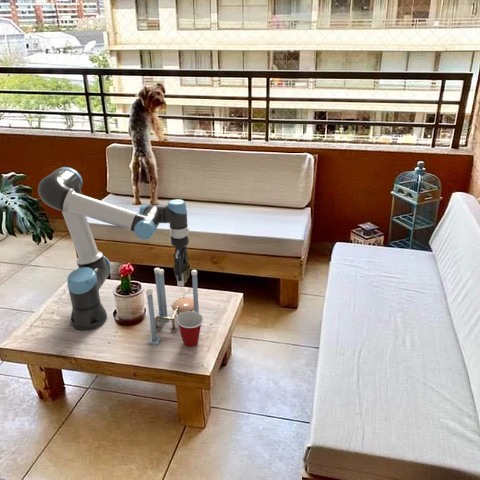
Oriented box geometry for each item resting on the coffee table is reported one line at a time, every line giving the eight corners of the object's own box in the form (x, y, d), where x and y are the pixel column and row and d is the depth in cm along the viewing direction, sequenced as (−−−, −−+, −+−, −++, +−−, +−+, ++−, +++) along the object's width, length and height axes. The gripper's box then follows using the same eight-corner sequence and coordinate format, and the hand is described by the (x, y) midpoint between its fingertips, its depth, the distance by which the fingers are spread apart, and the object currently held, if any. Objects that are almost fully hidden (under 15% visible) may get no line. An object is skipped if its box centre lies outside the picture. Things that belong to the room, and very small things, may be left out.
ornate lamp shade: (190, 286, 197) (188, 270, 193) (173, 286, 197) (172, 270, 193) (192, 277, 203) (191, 262, 200) (176, 277, 204) (174, 262, 200)
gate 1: (148, 344, 180) (142, 293, 170) (162, 315, 198) (157, 268, 188) (158, 344, 180) (152, 293, 170) (171, 316, 198) (166, 268, 187)
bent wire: (152, 331, 188) (151, 318, 185) (160, 315, 198) (158, 303, 196) (176, 332, 187) (175, 320, 184) (183, 316, 197) (182, 304, 194)
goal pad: (169, 311, 201) (169, 310, 201) (175, 298, 211) (175, 297, 211) (193, 312, 200) (193, 311, 200) (198, 299, 210) (198, 298, 209)
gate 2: (200, 322, 194) (197, 273, 183) (156, 319, 196) (150, 271, 185) (202, 316, 197) (199, 269, 187) (158, 313, 199) (153, 266, 189)
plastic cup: (201, 352, 175) (199, 327, 170) (174, 349, 177) (172, 325, 172) (207, 335, 185) (206, 311, 180) (182, 333, 187) (180, 309, 182)
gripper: (182, 245, 181) (185, 293, 191) (193, 226, 199) (195, 271, 208) (164, 245, 182) (168, 292, 191) (176, 225, 199) (180, 270, 209)
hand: (182, 281), depth 200 cm, fingers closed on ornate lamp shade, 7 cm apart
